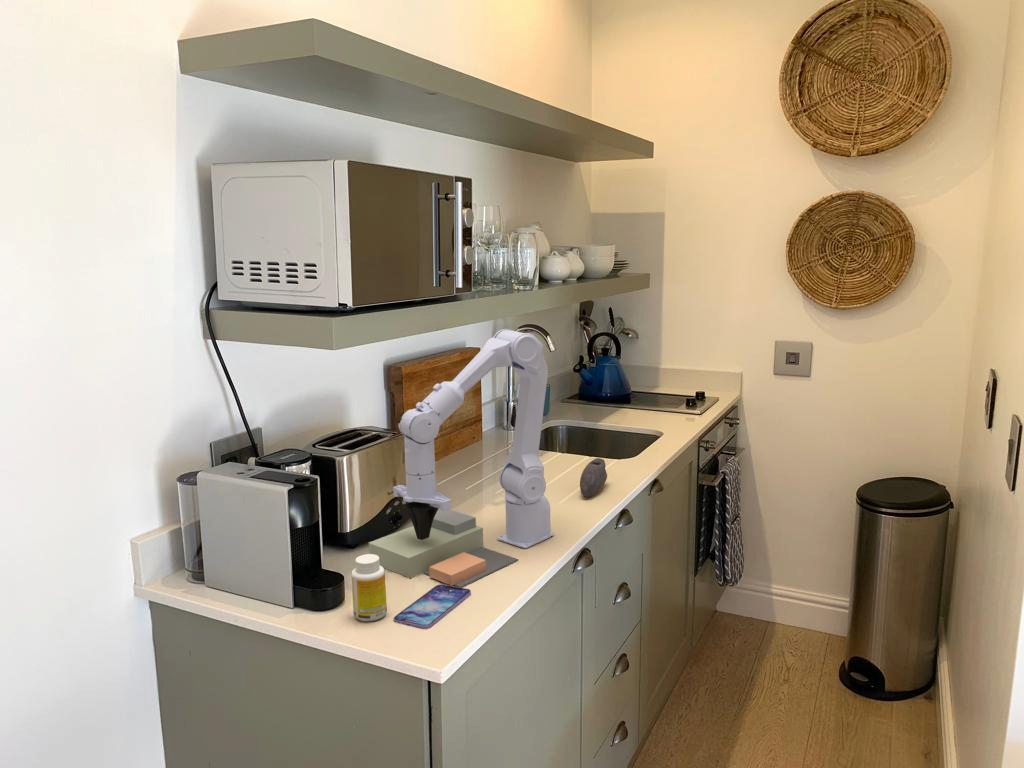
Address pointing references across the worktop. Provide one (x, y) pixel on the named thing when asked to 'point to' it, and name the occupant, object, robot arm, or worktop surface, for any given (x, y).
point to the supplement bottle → (368, 588)
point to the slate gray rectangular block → (453, 522)
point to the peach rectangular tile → (457, 568)
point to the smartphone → (432, 606)
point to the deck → (422, 549)
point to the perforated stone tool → (593, 477)
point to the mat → (493, 564)
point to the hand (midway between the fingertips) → (423, 537)
